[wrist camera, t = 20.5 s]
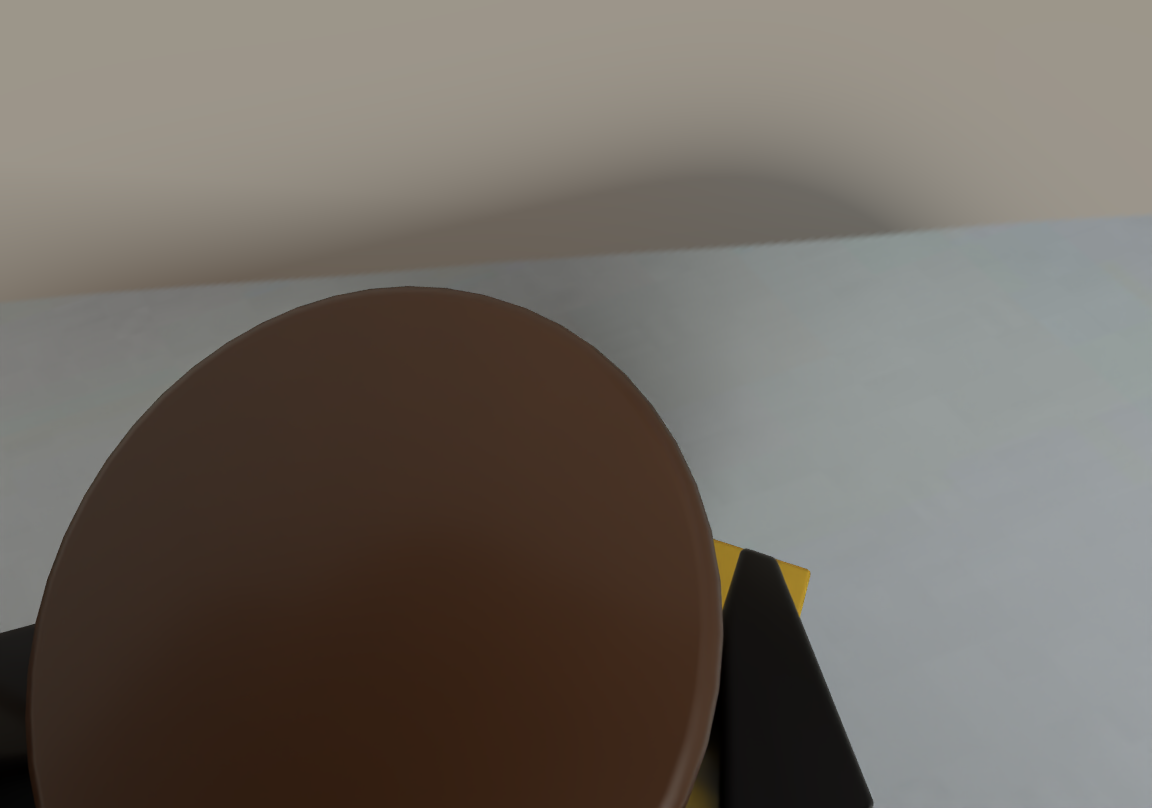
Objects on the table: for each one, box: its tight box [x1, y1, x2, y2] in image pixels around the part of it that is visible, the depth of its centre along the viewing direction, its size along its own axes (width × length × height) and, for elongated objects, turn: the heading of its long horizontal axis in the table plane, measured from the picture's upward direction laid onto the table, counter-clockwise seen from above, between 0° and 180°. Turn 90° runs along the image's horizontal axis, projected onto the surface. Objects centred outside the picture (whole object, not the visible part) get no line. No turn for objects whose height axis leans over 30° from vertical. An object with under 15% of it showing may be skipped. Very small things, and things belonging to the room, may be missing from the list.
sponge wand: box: [25, 286, 810, 808], centre depth 9 cm, size 4×5×14 cm
